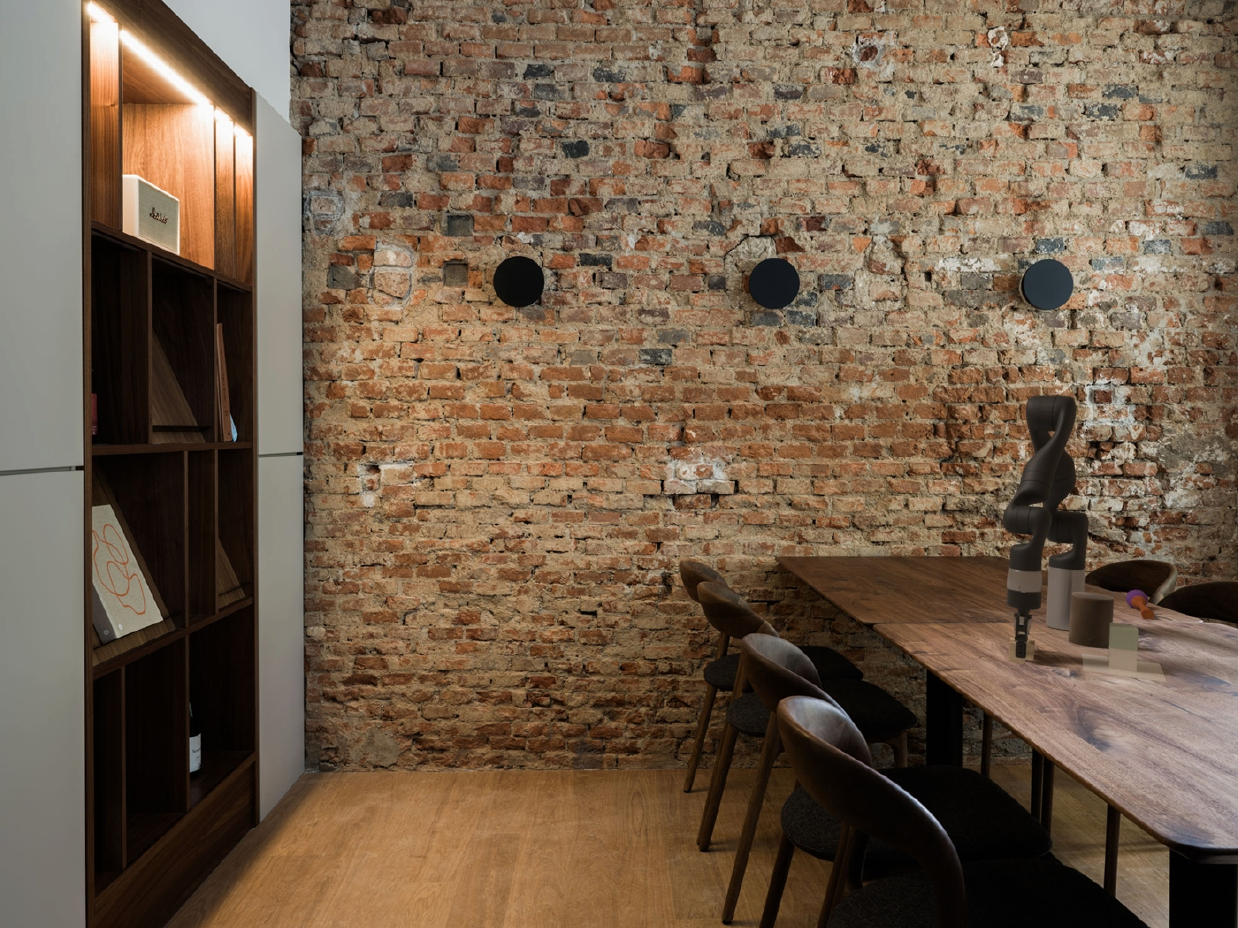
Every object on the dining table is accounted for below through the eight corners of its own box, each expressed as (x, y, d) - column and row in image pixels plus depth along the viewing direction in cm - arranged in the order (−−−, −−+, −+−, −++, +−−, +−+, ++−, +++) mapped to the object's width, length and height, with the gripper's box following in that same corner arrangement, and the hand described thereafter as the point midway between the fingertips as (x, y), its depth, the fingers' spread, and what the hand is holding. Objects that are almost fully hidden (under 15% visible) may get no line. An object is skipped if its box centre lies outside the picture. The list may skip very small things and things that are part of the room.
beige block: (1108, 662, 193) (1109, 642, 193) (1134, 665, 191) (1135, 645, 190) (1109, 668, 188) (1110, 647, 188) (1136, 671, 186) (1137, 651, 186)
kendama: (1134, 605, 245) (1122, 588, 263) (1137, 624, 245) (1125, 606, 263) (1157, 604, 242) (1144, 587, 260) (1161, 623, 242) (1147, 605, 261)
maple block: (1009, 656, 202) (1010, 637, 201) (1034, 659, 199) (1034, 640, 199) (1008, 661, 197) (1009, 642, 197) (1033, 665, 194) (1034, 645, 194)
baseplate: (1081, 658, 200) (1082, 653, 200) (1159, 668, 193) (1159, 663, 193) (1082, 675, 186) (1083, 670, 186) (1166, 687, 179) (1166, 681, 179)
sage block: (1108, 642, 193) (1109, 622, 193) (1135, 645, 190) (1136, 625, 190) (1109, 647, 188) (1110, 627, 188) (1137, 651, 186) (1138, 630, 185)
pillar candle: (1090, 653, 205) (1093, 594, 204) (1059, 643, 214) (1062, 587, 213) (1120, 651, 207) (1124, 593, 207) (1089, 641, 217) (1092, 586, 216)
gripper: (1009, 581, 205) (1006, 644, 206) (1005, 590, 193) (1002, 658, 193) (1042, 584, 201) (1039, 649, 202) (1040, 594, 189) (1037, 663, 190)
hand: (1021, 653), depth 198 cm, fingers open, 8 cm apart
